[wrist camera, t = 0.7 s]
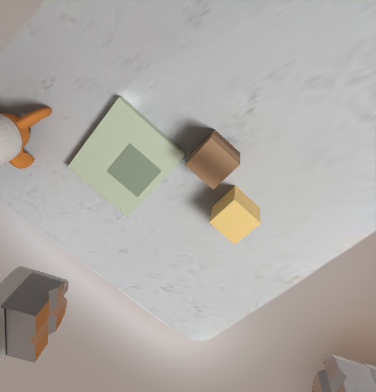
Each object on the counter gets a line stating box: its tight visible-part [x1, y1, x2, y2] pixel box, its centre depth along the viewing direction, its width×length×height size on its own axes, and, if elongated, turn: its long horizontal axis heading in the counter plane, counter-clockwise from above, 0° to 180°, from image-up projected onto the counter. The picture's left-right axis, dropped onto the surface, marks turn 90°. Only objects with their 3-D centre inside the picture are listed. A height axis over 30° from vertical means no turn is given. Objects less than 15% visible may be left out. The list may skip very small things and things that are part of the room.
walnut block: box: [186, 129, 240, 189], centre depth 44 cm, size 5×5×5 cm
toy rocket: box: [0, 107, 52, 168], centre depth 44 cm, size 10×11×15 cm
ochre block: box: [209, 186, 261, 244], centre depth 47 cm, size 5×5×5 cm
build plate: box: [67, 96, 186, 217], centre depth 49 cm, size 14×12×1 cm
